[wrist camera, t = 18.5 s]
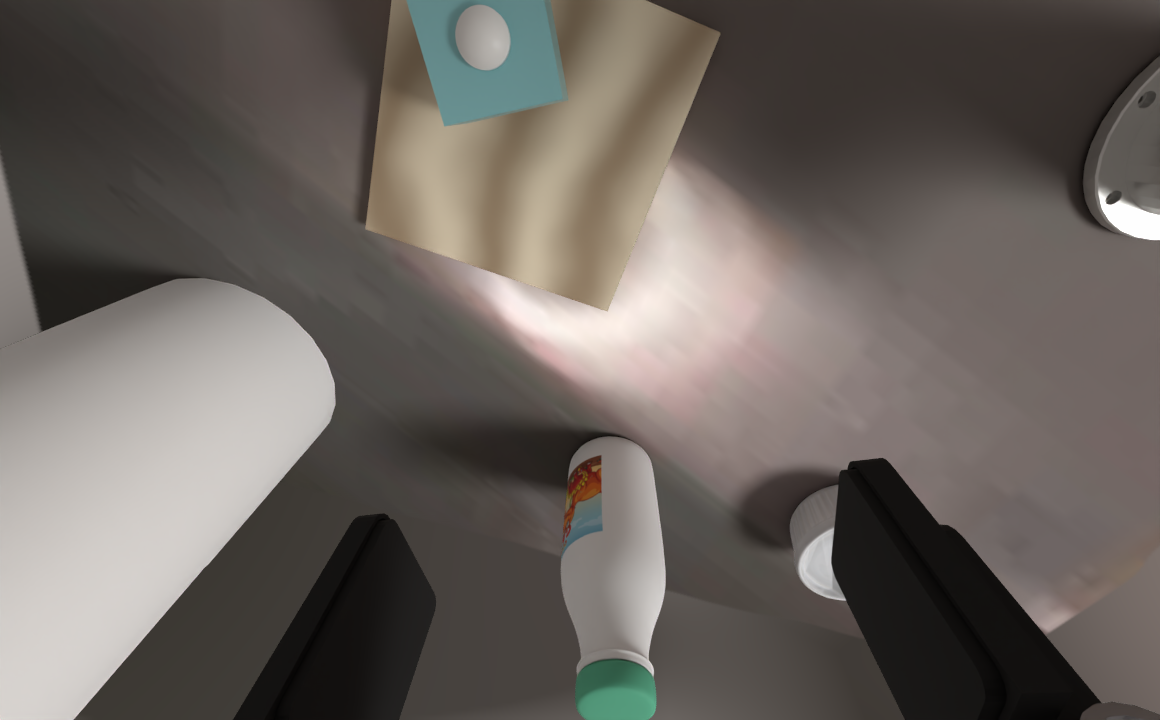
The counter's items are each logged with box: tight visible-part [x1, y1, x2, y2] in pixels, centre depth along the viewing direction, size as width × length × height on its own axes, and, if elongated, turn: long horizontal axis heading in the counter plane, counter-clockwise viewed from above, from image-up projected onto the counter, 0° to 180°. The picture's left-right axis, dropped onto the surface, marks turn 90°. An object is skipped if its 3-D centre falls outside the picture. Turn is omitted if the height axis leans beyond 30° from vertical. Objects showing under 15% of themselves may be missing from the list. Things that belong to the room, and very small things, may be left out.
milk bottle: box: [561, 436, 665, 720], centre depth 34 cm, size 8×8×20 cm
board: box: [366, 0, 721, 311], centre depth 30 cm, size 18×18×1 cm
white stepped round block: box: [0, 278, 335, 720], centre depth 28 cm, size 17×17×28 cm
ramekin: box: [790, 485, 846, 600], centre depth 43 cm, size 11×11×5 cm
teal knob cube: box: [406, 0, 569, 126], centre depth 23 cm, size 6×6×5 cm
